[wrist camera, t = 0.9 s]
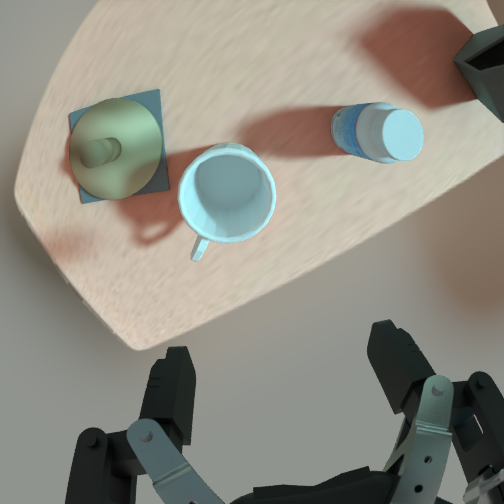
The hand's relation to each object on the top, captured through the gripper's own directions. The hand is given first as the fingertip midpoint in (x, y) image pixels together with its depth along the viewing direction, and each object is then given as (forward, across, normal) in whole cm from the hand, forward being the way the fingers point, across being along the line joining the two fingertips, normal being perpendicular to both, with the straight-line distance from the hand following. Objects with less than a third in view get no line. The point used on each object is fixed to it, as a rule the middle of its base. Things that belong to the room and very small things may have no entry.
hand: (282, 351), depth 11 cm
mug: (+24, +3, -1) cm, 24 cm away
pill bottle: (+24, -13, -8) cm, 28 cm away
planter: (+24, -37, -21) cm, 49 cm away
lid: (+23, +15, -9) cm, 29 cm away
